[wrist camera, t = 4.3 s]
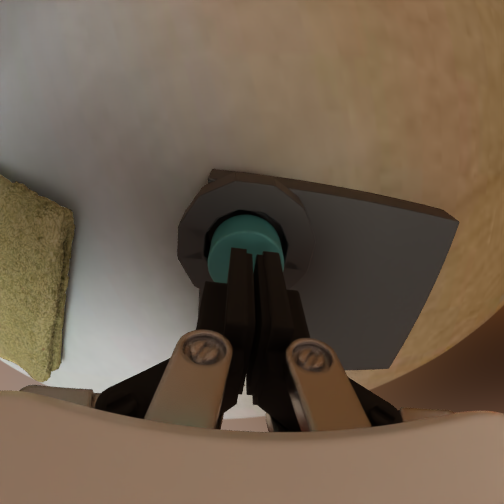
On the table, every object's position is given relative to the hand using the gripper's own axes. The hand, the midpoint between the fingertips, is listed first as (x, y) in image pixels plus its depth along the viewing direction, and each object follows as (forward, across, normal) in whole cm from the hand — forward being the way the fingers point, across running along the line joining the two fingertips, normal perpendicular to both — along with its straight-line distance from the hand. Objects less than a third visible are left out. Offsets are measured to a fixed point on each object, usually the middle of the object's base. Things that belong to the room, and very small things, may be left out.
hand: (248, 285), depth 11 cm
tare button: (+3, 0, 0) cm, 3 cm away
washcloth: (+6, +18, +6) cm, 20 cm away
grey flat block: (+6, -5, +3) cm, 8 cm away
